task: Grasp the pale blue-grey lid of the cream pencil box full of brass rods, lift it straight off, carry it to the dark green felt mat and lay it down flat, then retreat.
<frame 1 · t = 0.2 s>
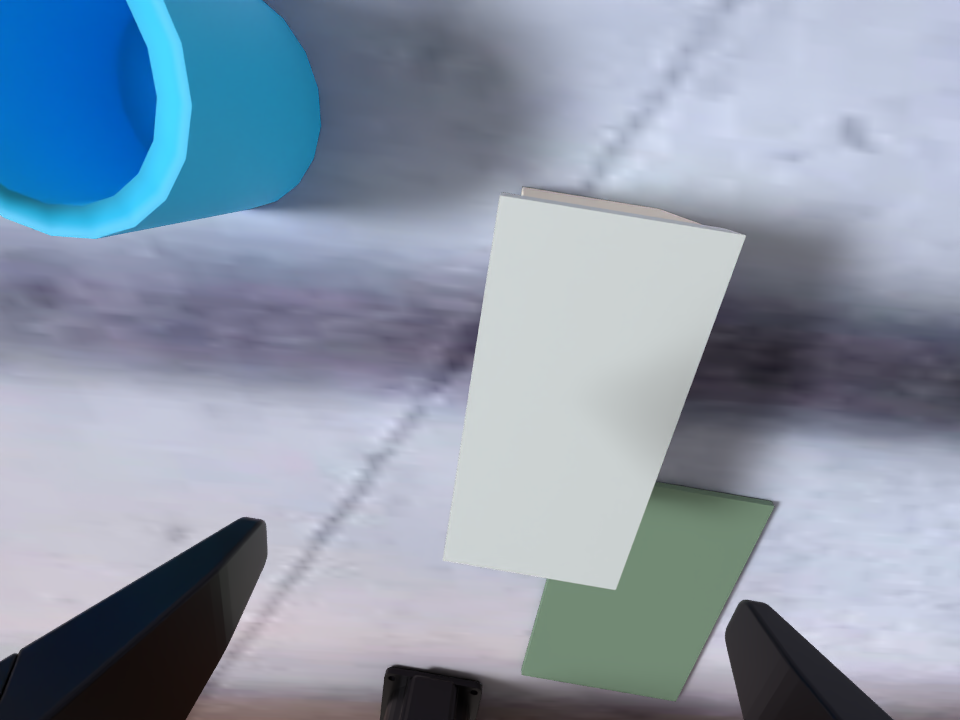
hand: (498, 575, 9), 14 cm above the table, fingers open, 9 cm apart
mug: (178, 75, 19), on the table
pencil box: (554, 354, 22), on the table
lid: (564, 406, 17), point 5 cm above the table, touching pencil box
felt mat: (631, 594, 27), on the table
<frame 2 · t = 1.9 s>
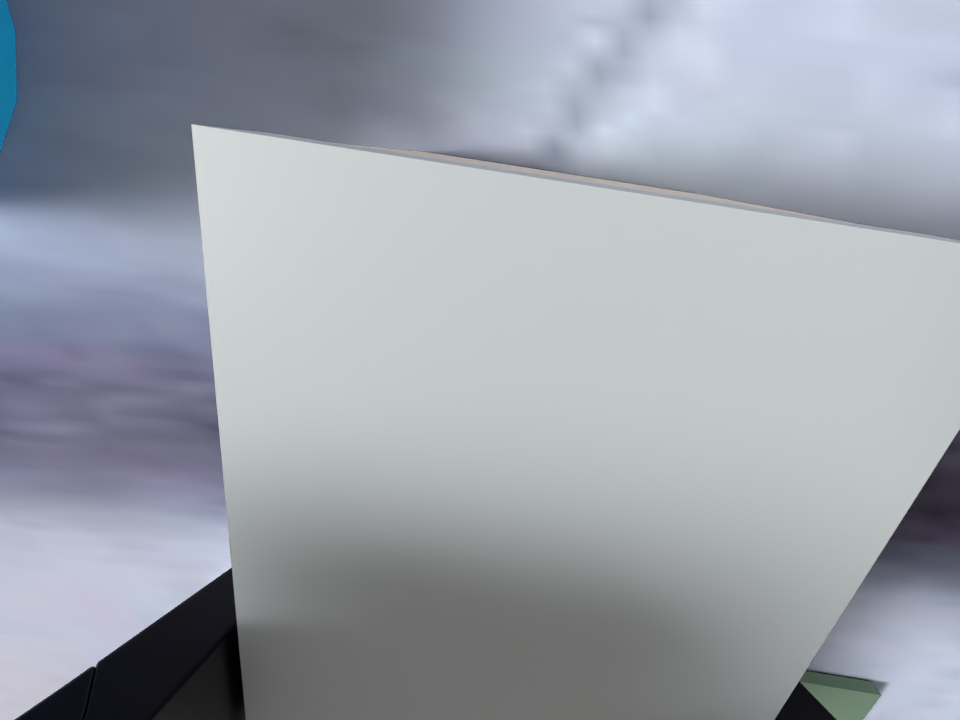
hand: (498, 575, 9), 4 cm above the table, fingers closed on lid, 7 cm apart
pencil box: (503, 456, 12), on the table
lid: (495, 631, 8), point 5 cm above the table, touching gripper, pencil box
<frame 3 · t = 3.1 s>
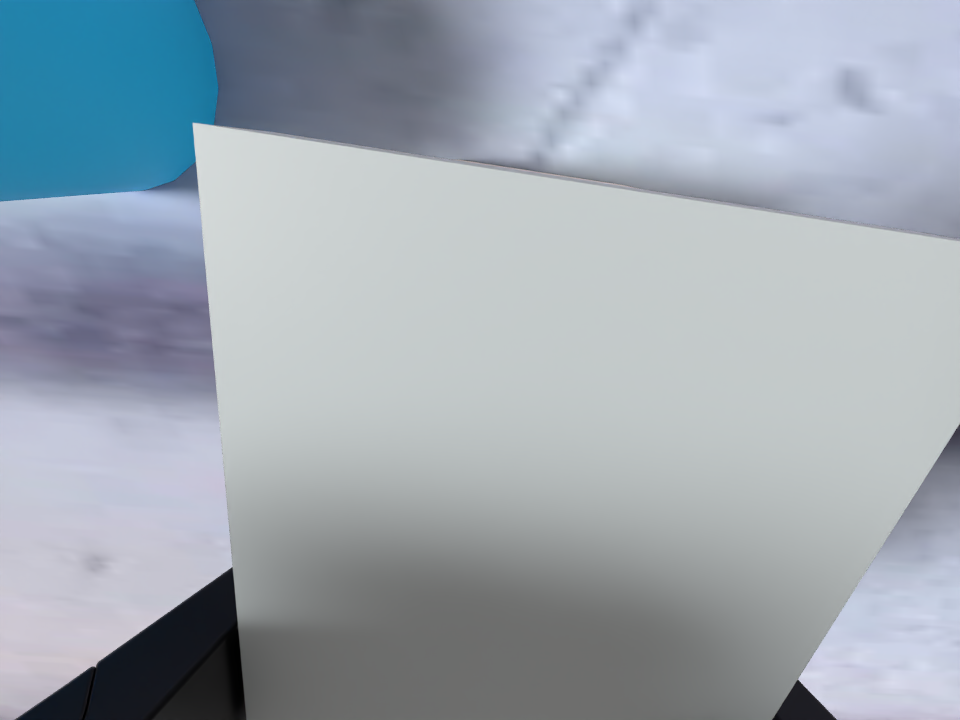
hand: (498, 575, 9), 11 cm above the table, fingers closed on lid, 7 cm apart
mug: (48, 30, 16), on the table
lid: (495, 629, 8), point 12 cm above the table, touching gripper
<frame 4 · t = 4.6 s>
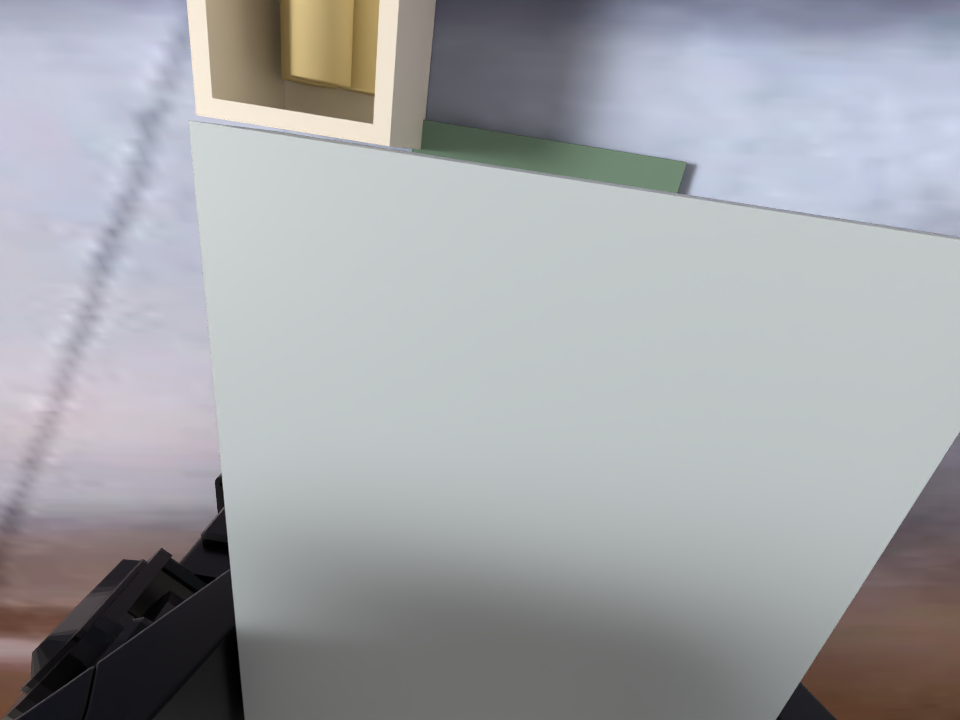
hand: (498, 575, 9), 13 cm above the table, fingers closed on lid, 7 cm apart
lid: (495, 631, 8), point 14 cm above the table, touching gripper
felt mat: (512, 339, 21), on the table
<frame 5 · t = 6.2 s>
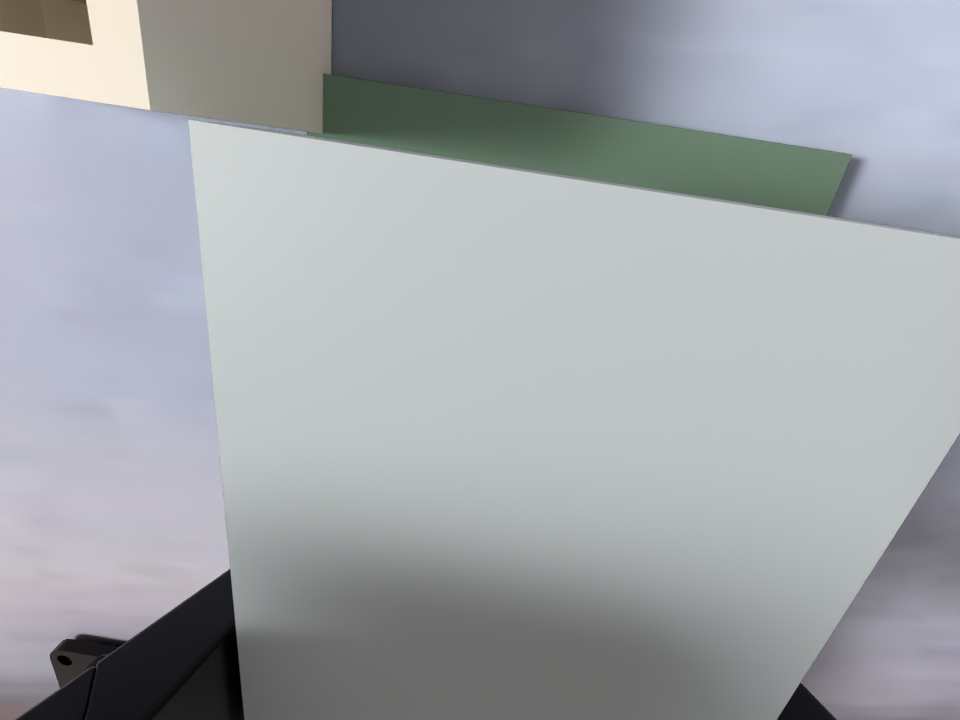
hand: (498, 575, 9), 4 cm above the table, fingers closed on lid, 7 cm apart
lid: (496, 631, 8), point 5 cm above the table, touching gripper
felt mat: (506, 461, 12), on the table
when the fingers open (2 cm above the table, at t = 7.6 s): lid drops 2 cm, resting on felt mat.
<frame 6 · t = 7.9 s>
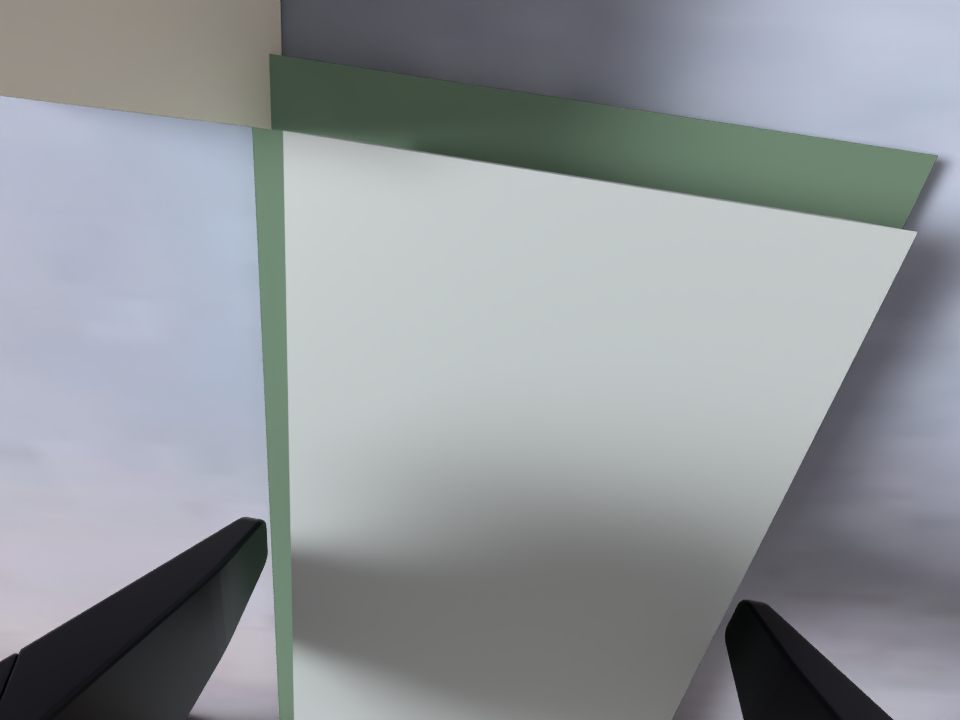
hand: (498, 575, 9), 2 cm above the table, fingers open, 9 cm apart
lid: (499, 557, 9), point 1 cm above the table, touching felt mat
felt mat: (502, 515, 10), on the table
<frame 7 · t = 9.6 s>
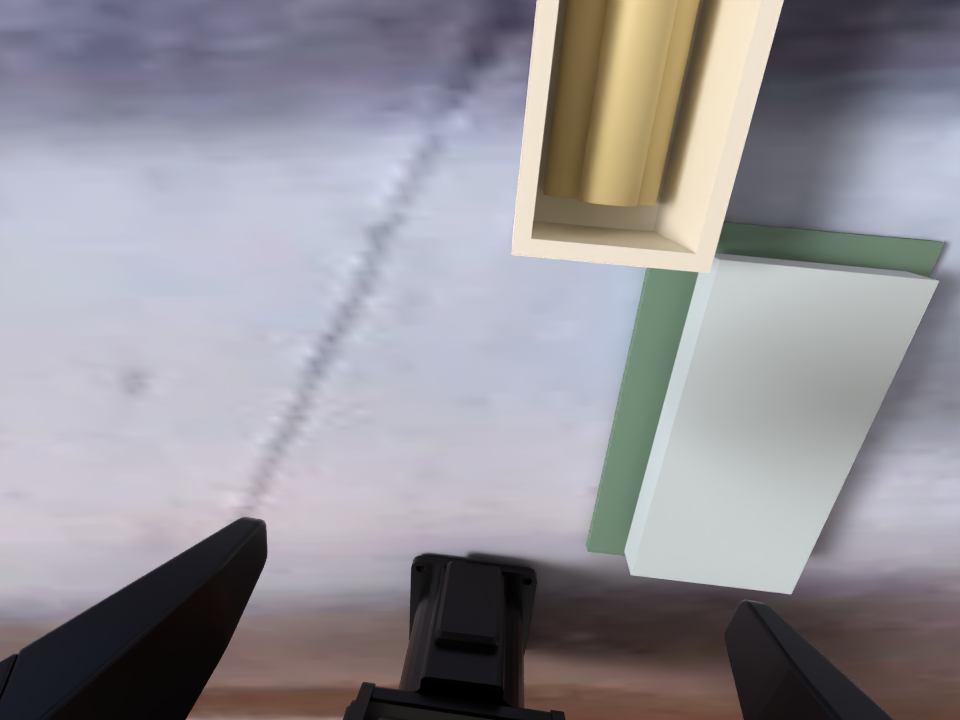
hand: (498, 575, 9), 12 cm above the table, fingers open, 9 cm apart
pencil box: (622, 17, 15), on the table
lid: (744, 432, 19), point 1 cm above the table, touching felt mat
felt mat: (732, 417, 20), on the table
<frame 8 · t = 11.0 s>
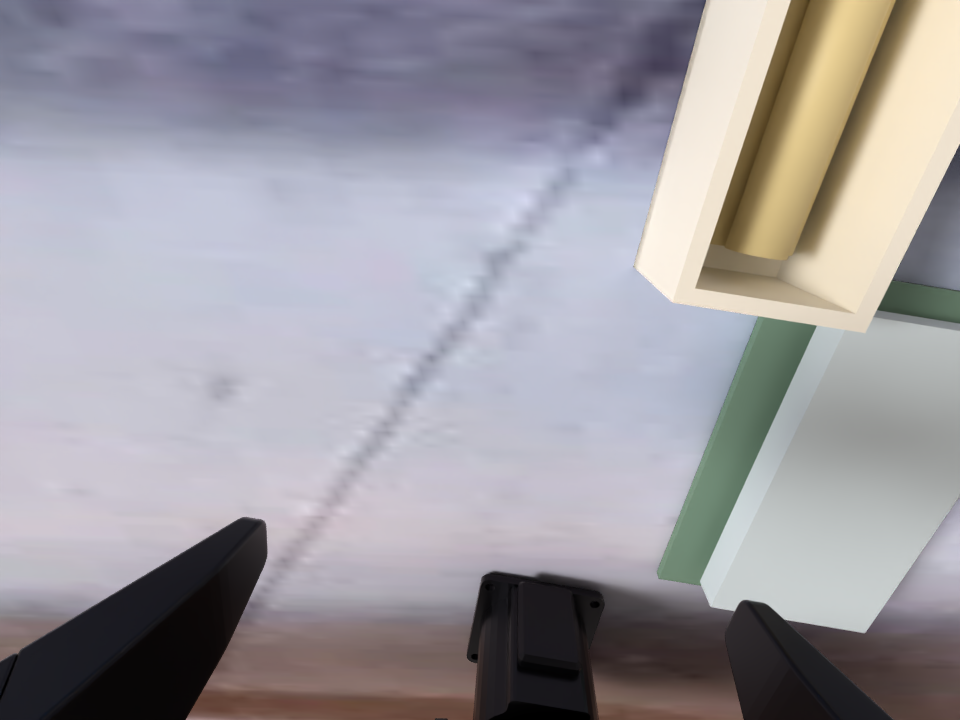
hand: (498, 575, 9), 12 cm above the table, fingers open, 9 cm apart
pencil box: (775, 69, 15), on the table
lid: (837, 475, 20), point 1 cm above the table, touching felt mat
felt mat: (821, 459, 21), on the table
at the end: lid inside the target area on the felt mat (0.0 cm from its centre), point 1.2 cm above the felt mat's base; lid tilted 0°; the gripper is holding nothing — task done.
